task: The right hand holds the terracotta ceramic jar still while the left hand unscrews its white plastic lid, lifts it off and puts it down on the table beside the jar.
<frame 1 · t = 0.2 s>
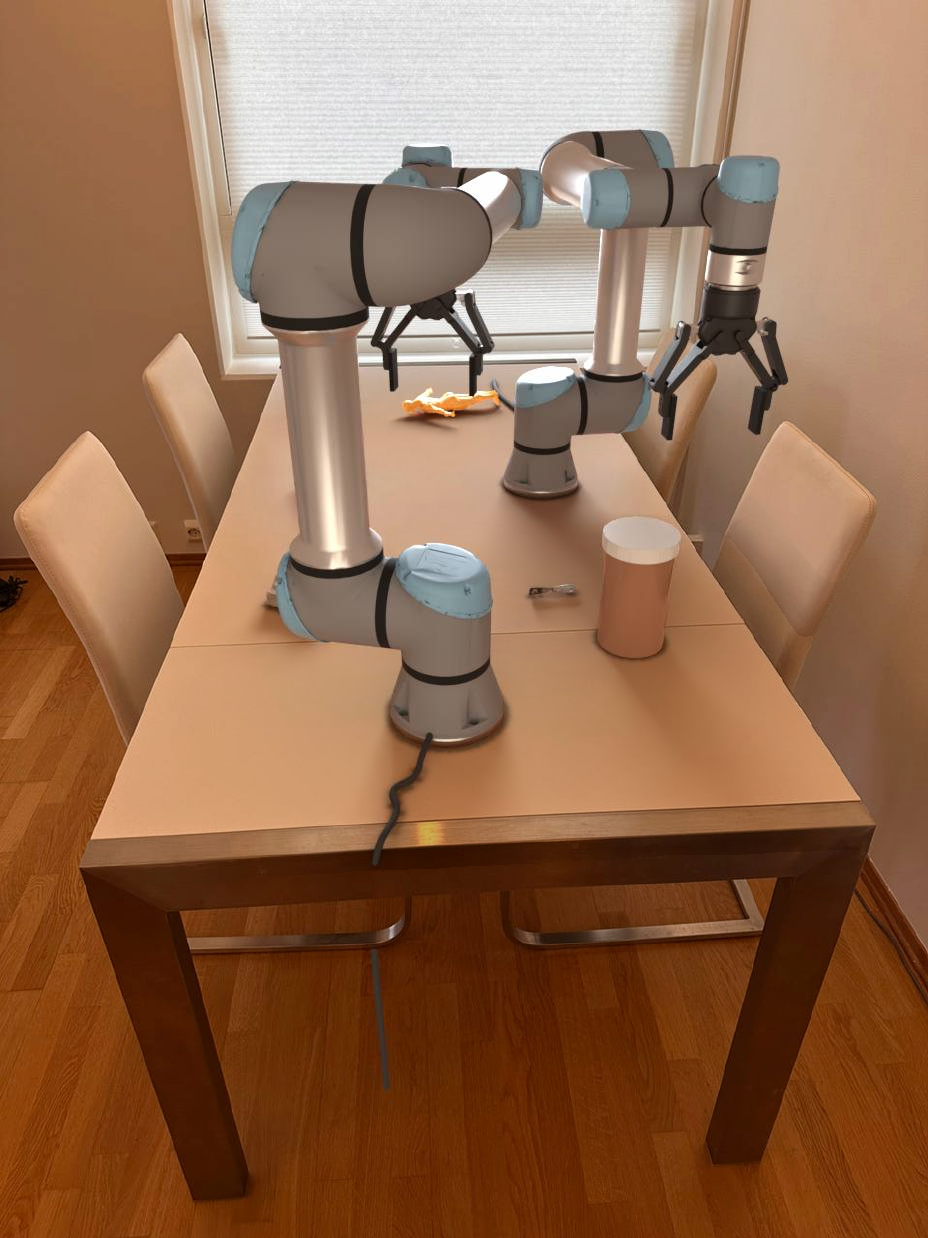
left hand: (433, 391, 149), 28 cm above the table, tool pointing down, fingers open, 13 cm apart
right hand: (710, 434, 132), 28 cm above the table, tool pointing down, fingers open, 13 cm apart
human figure: (450, 410, 226), on the table
putty knife: (552, 595, 147), on the table
stone: (305, 604, 145), on the table
jar: (629, 639, 136), on the table
handgun: (337, 495, 182), on the table
lid: (641, 535, 127), point 18 cm above the table, screwed on, not yet turned
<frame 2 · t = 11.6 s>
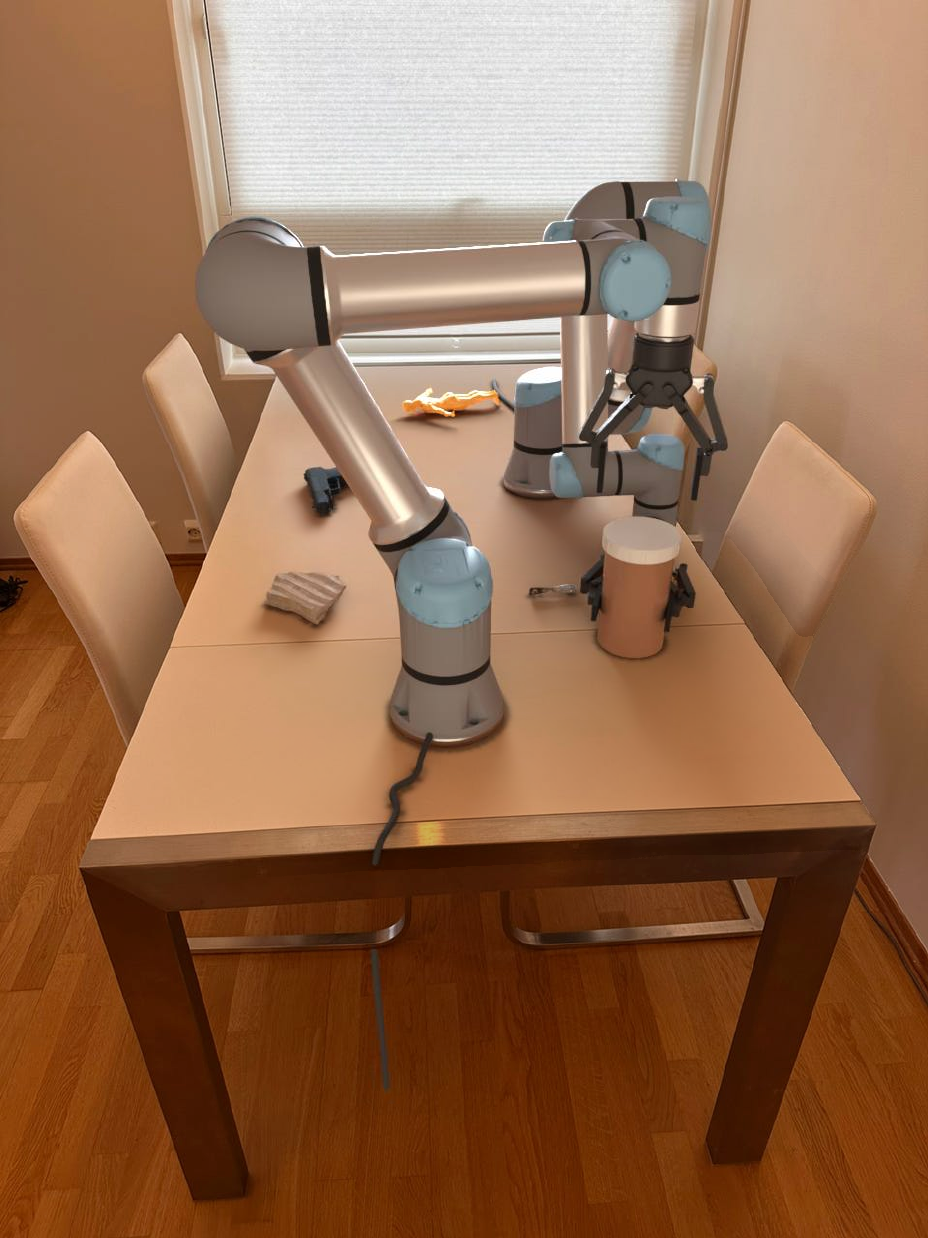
left hand: (646, 492, 123), 24 cm above the table, tool pointing down, fingers open, 12 cm apart
right hand: (630, 618, 129), 6 cm above the table, tool horizontal, fingers closed on jar, 10 cm apart
jar: (629, 639, 136), on the table, touching right hand
everything else where it was.
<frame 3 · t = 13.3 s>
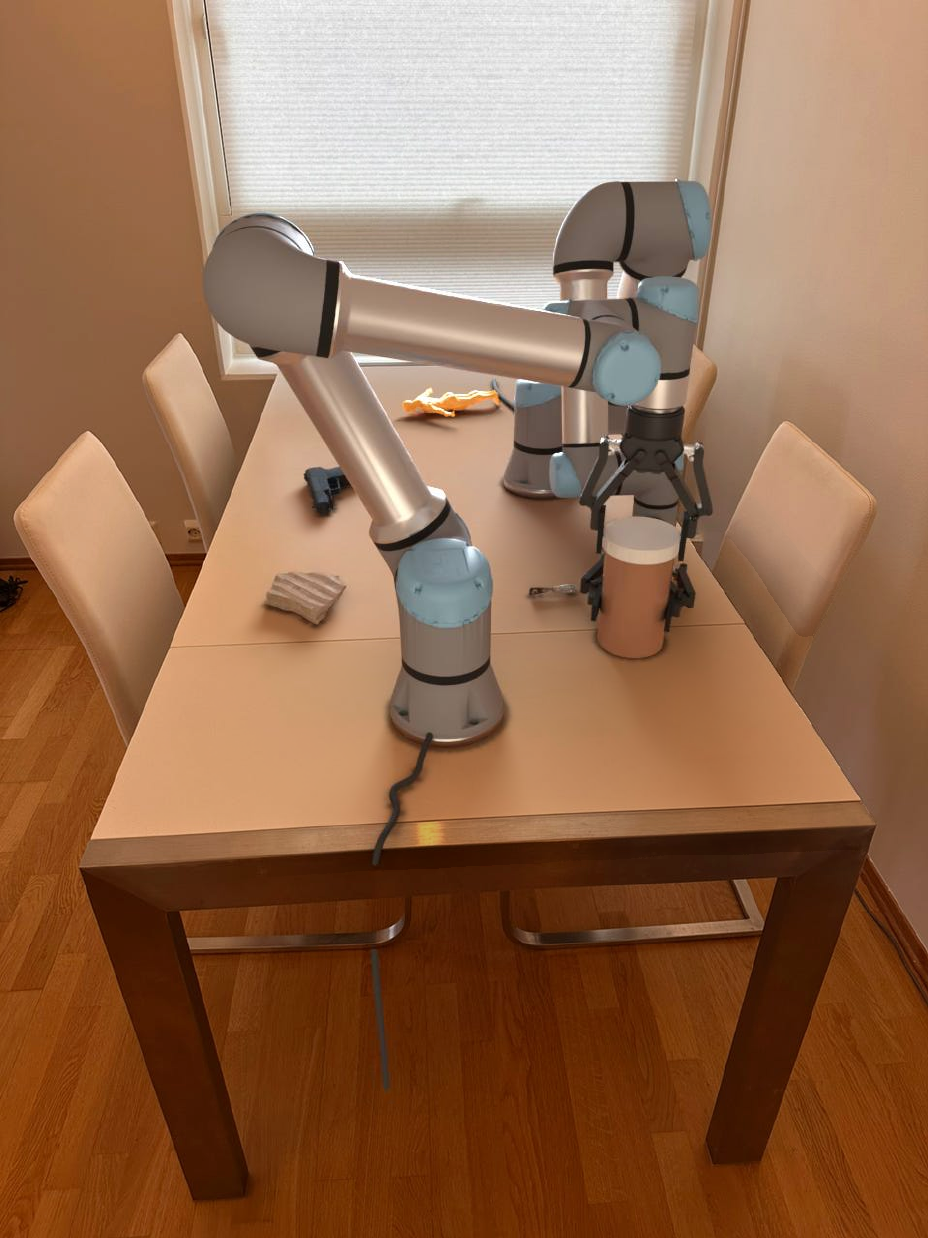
left hand: (639, 553, 128), 15 cm above the table, tool pointing down, fingers closed on lid, 11 cm apart
right hand: (630, 618, 129), 6 cm above the table, tool horizontal, fingers closed on jar, 10 cm apart
jar: (629, 639, 136), on the table, touching right hand
lid: (641, 535, 127), point 18 cm above the table, screwed on, not yet turned, touching left hand
everything else where it was.
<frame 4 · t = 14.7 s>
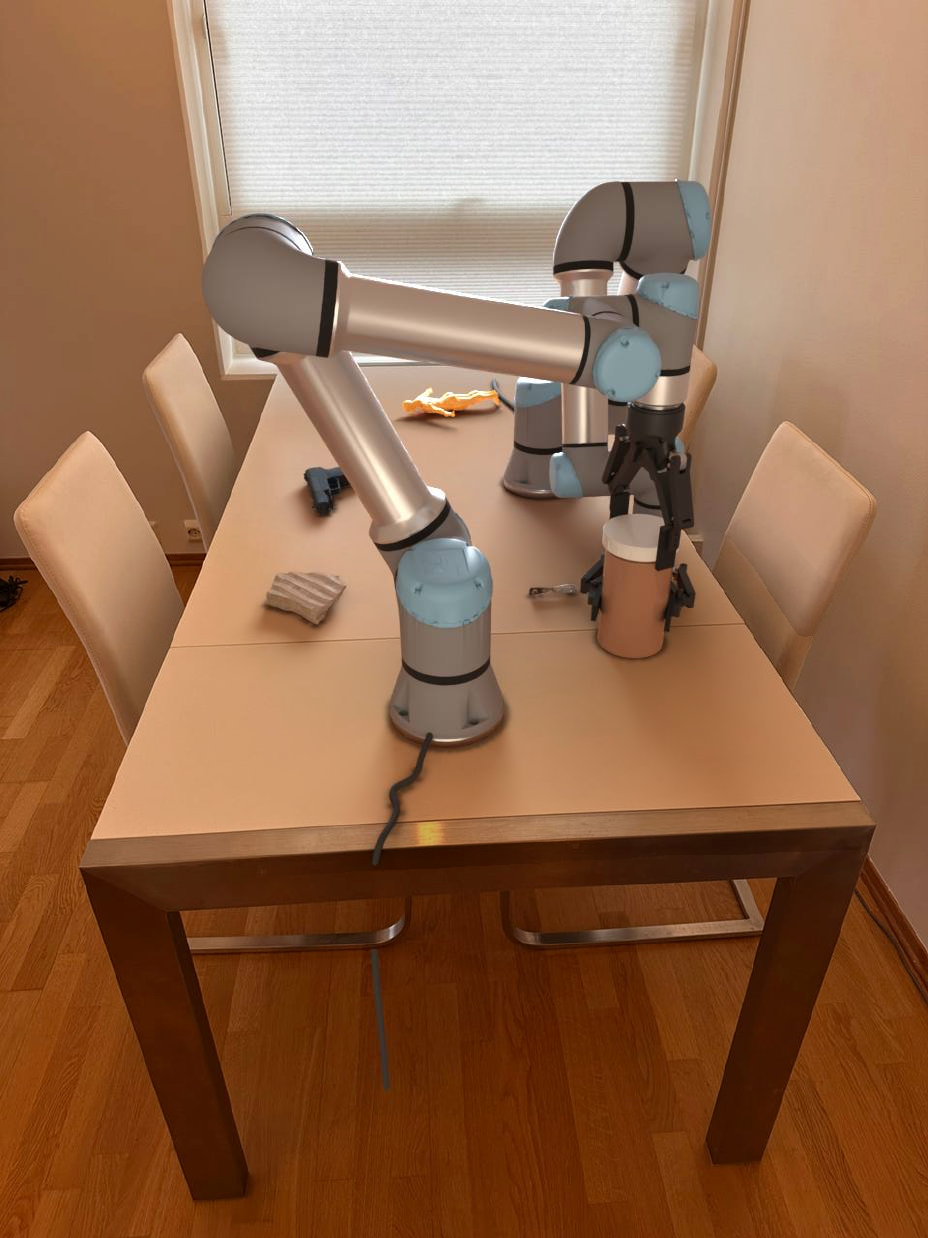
left hand: (639, 550, 128), 15 cm above the table, tool pointing down, fingers closed on lid, 11 cm apart
right hand: (630, 618, 129), 6 cm above the table, tool horizontal, fingers closed on jar, 10 cm apart
jar: (629, 639, 136), on the table, touching right hand
lid: (641, 532, 126), point 18 cm above the table, off its thread, touching left hand
everything else where it was.
when the left hand's fingers open (0 cm above the table, at t = 20.9 s): lid drops 1 cm, point 2 cm above the table.
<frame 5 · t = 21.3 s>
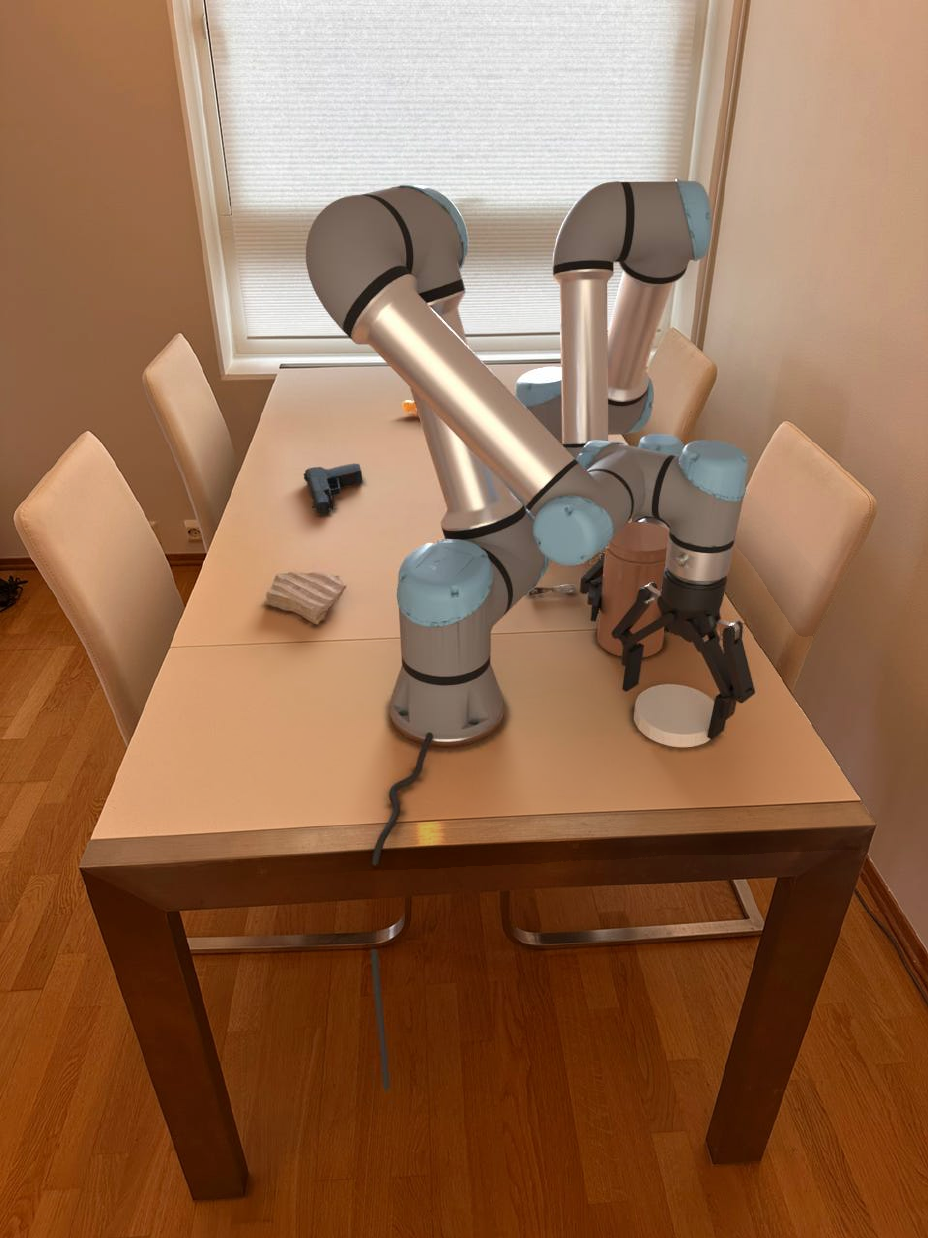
left hand: (671, 709, 119), 2 cm above the table, tool pointing down, fingers open, 13 cm apart
right hand: (630, 618, 129), 6 cm above the table, tool horizontal, fingers closed on jar, 10 cm apart
jar: (629, 639, 136), on the table, touching right hand
lid: (676, 710, 118), point 2 cm above the table, off its thread
everything else where it was.
when the right hand's fingers open (6 cm above the table, at t = 22.0 s): jar stays where it is, on the table.
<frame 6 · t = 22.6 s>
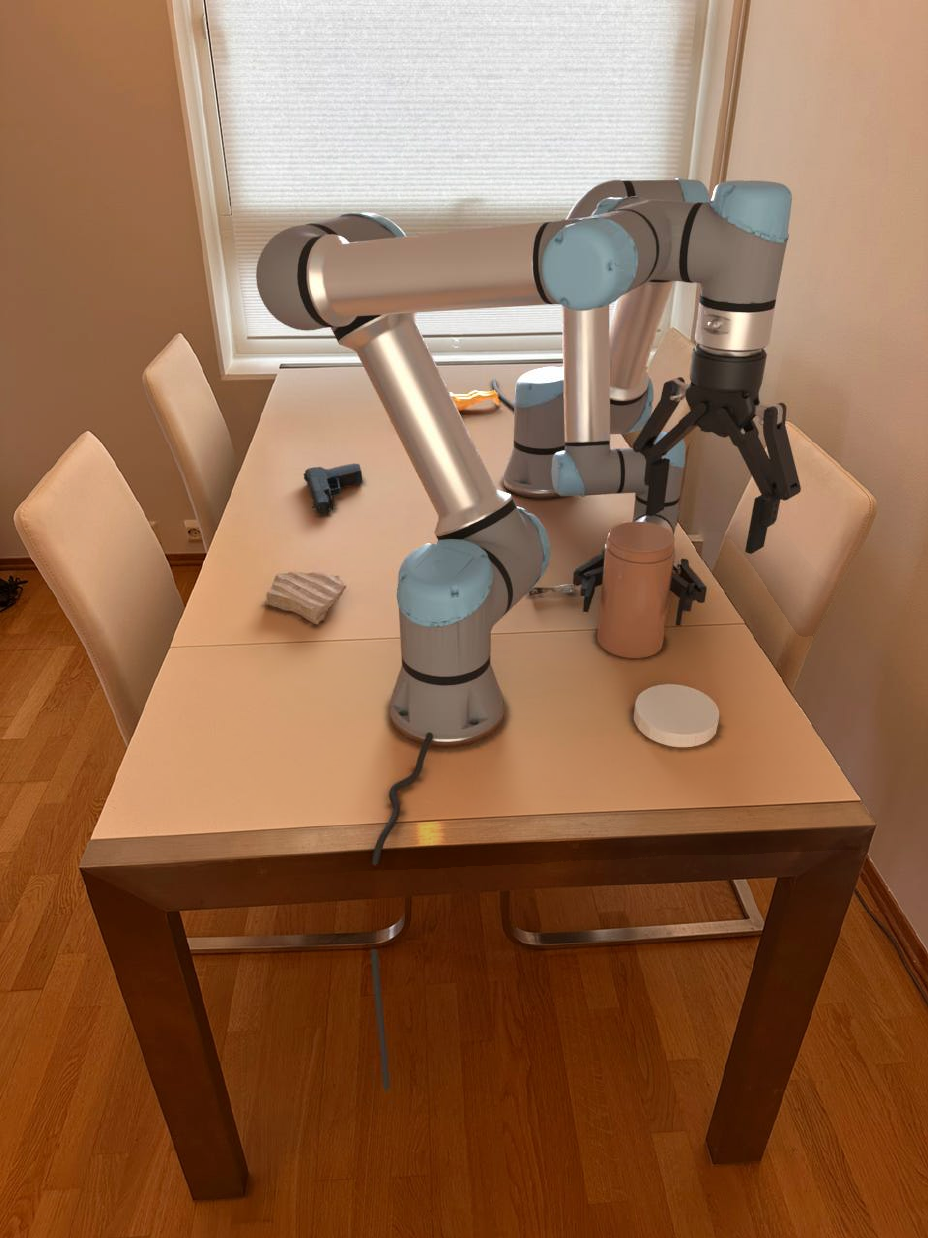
left hand: (702, 530, 104), 28 cm above the table, tool pointing down, fingers open, 13 cm apart
right hand: (631, 611, 131), 6 cm above the table, tool horizontal, fingers open, 13 cm apart
jar: (629, 639, 136), on the table
everything else where it was.
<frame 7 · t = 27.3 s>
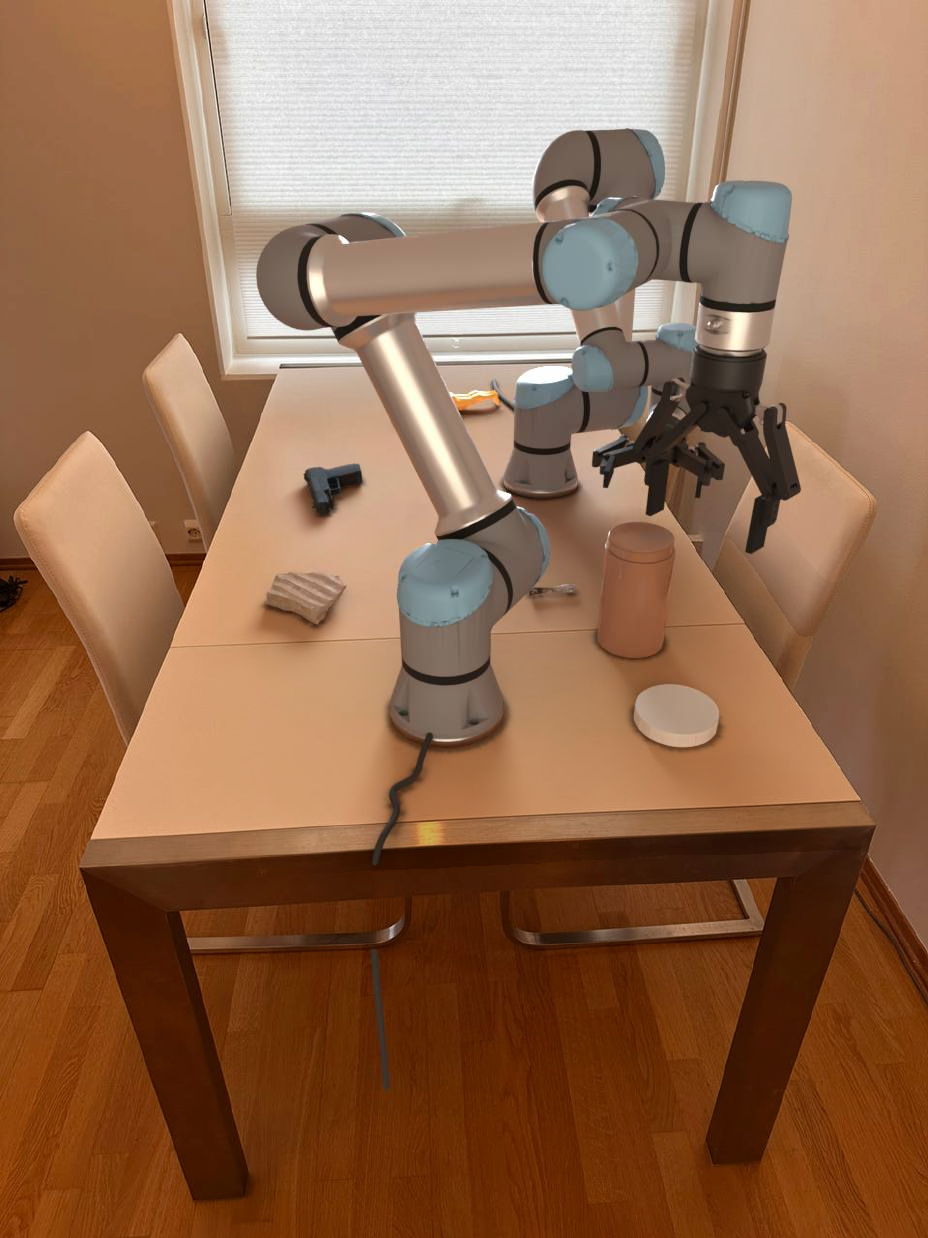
left hand: (702, 530, 104), 28 cm above the table, tool pointing down, fingers open, 13 cm apart
right hand: (651, 484, 132), 21 cm above the table, tool horizontal, fingers open, 13 cm apart
nothing on the table moved.
at the end: lid came off its thread; lid point 1.8 cm above the table; the left hand is holding nothing; the right hand is holding nothing; jar tilted 0°; jar moved 0.0 cm from its start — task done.
